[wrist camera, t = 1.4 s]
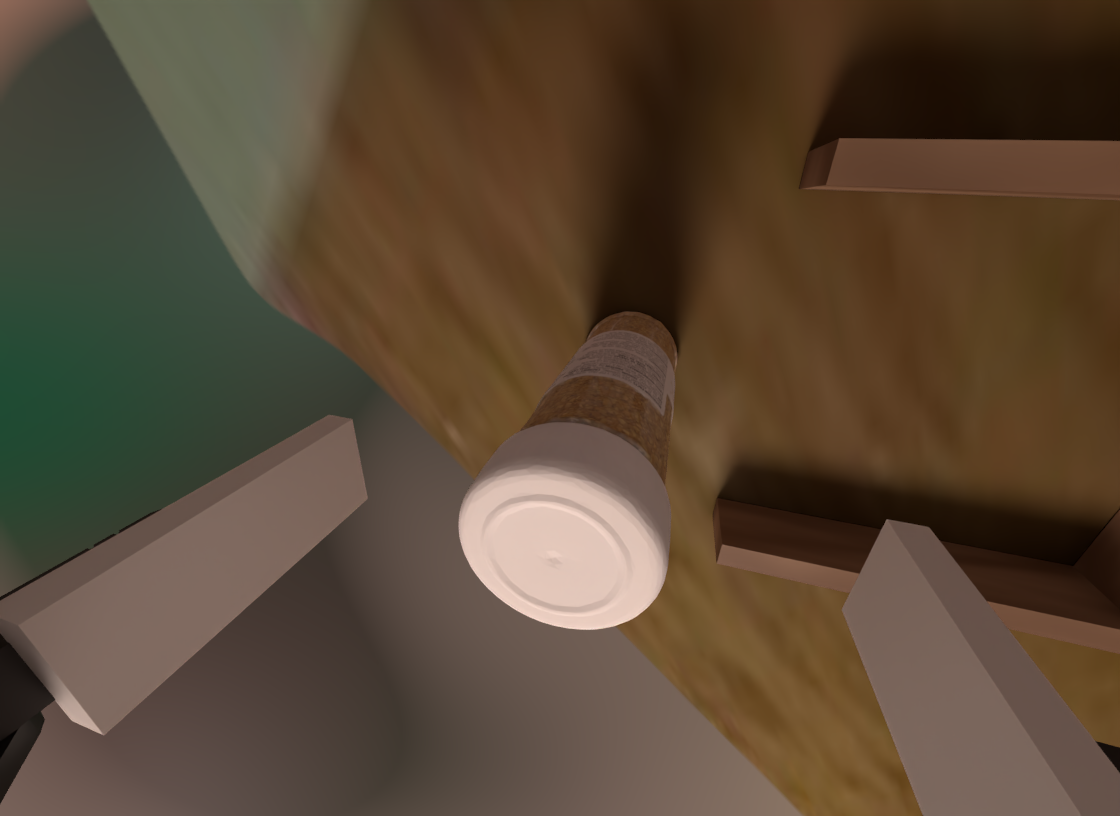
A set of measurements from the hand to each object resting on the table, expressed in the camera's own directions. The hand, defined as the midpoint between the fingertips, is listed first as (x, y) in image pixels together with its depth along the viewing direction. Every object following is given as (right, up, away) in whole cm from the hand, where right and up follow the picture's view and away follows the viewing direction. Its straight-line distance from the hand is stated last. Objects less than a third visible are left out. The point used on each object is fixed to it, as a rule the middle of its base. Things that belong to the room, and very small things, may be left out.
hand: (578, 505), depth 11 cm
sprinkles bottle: (+3, +5, +10) cm, 11 cm away
